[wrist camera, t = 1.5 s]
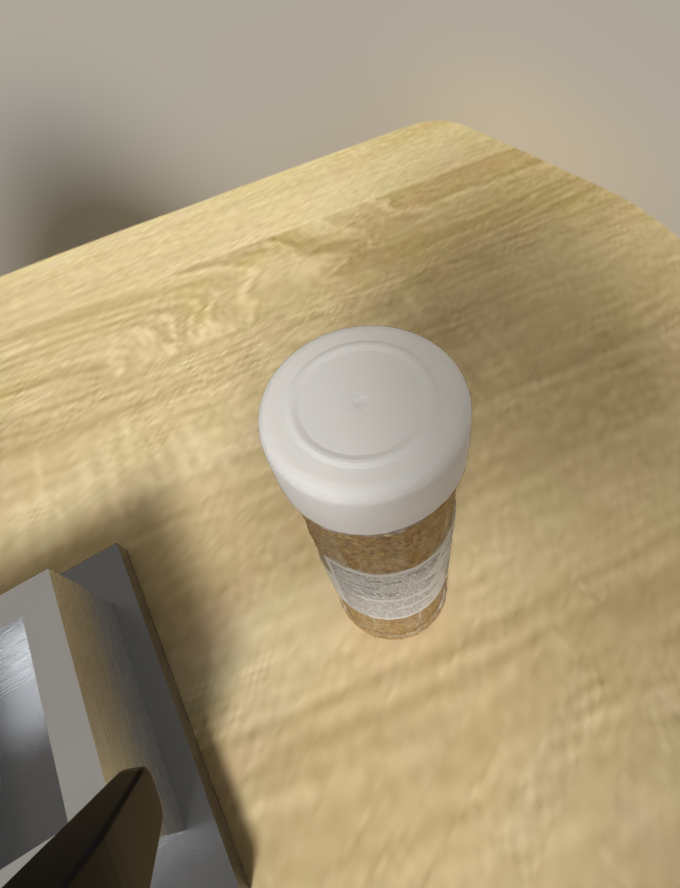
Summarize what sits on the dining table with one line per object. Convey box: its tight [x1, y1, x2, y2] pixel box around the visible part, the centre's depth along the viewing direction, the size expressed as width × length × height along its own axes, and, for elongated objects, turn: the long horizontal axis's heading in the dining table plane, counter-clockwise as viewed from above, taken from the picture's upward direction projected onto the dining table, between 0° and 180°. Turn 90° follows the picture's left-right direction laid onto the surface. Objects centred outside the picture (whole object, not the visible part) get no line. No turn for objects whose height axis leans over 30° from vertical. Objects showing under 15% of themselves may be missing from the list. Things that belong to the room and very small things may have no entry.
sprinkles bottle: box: [258, 326, 472, 640], centre depth 17 cm, size 5×5×14 cm
